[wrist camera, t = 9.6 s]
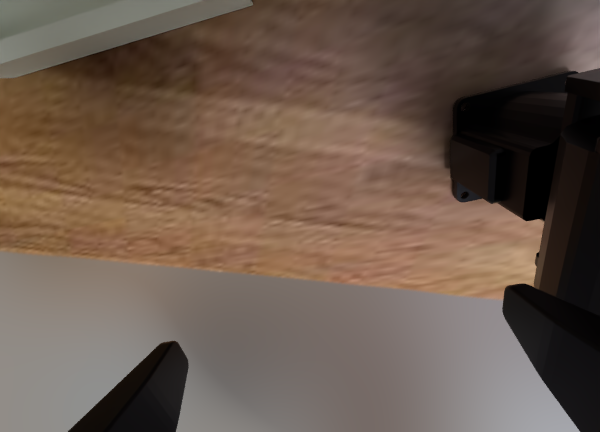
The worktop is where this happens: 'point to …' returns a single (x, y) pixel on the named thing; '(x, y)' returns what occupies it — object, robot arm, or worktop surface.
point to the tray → (89, 27)
